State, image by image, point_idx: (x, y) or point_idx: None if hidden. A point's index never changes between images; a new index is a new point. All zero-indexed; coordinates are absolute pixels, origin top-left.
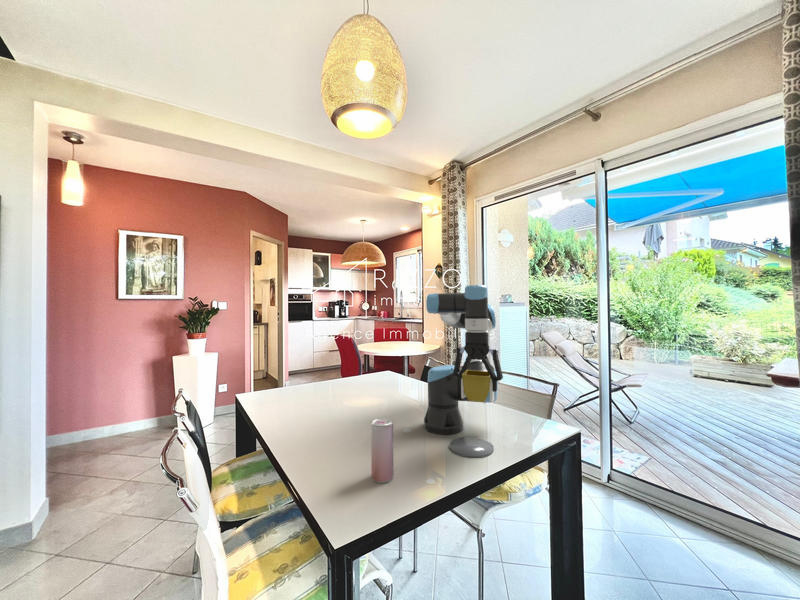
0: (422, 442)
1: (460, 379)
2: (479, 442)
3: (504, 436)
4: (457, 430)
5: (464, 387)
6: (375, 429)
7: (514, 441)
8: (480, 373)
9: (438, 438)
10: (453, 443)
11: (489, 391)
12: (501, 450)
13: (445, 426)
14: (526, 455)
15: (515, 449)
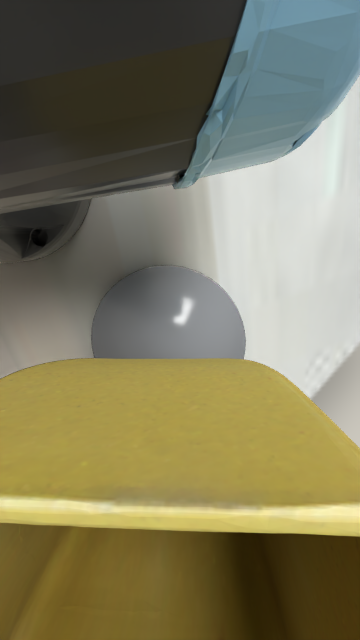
0: (4, 353)
1: None
2: (190, 309)
3: (281, 174)
4: (79, 218)
5: (50, 596)
6: None
7: (323, 219)
8: (131, 481)
9: (37, 301)
10: (104, 349)
11: (243, 166)
12: (271, 325)
13: (27, 250)
14: (357, 336)
15: (322, 299)
